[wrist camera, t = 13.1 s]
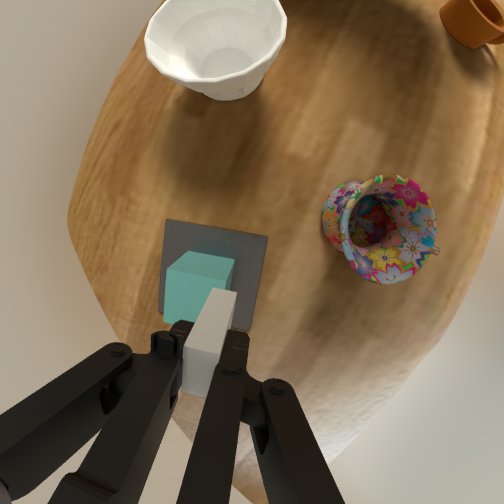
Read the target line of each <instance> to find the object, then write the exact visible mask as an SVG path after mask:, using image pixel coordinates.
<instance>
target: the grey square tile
mask: <svg viewBox="0 0 504 504" xmlns="http://www.w3.org/2000/svg"><path fill="white" fill-rule="evenodd" d="M267 239H268V236H263V235H258V234H252V233H247V232H241V231H235V230H230V229H224V228H219V227H213V226H207V225H201V224H195V223H190V222H184V221H178V220H172V219H166V223H165V232H164V241H163V251H162V262H161V274H160V287H159V304H158V312H162V313H164V301H165V286H166V274H167V268H169V267H170V266H171V265H172V264H173V263H174V262H176V261H177V260H178V259H179V258H180V257H181V256H183V255H184V254H185V253H186V252H187V251H192V252H197V253H202V254H208V255H213V256H219V257H224V258H229V259H235V263H234V269H233V275H232V281H231V288H230V291H233V292H237V296H236V301H235V307H234V312H233V318H232V323H231V327H232V328H237V329H243V330H250V325H251V320H252V315H253V310H254V305H255V300H256V295H257V290H258V285H259V280H260V275H261V270H262V265H263V259H264V254H265V249H266V244H267Z"/></svg>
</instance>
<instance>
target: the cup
mask: <svg viewBox="0 0 504 504" xmlns="http://www.w3.org/2000/svg"><path fill="white" fill-rule="evenodd" d="M286 26H287V17H286V15H285V13H284V10H283V8H282V6H281V4H280V2H279V0H167V1H166V2H165V3H164V4H163V5H162V6H161V7H160V8H159V9H158V11H157V12H156V13H155V14H154V15H153V17H152V18H151V19H150V21H149V25H148V28H147V31H146V34H145V38H144V43H145V48H146V54H147V59H148V60H149V61H150V62H151V63H152V64H153V65H154V66H155V67H156V68H157V69H158V71H159V72H160V73H161V74H163V75H164V76H166V77H168V78H170V79H171V80H173V81H175V82H177V83H178V84H180V85H183V86H185V87H187V88H190V89H192V90H194V91H197V92H202V93H203V94H204V95H206V96H208V97H210V98H213V99H215V100H222V101H231V100H236V99H239V98H243V97H245V96H247V95H248V94H250V93H251V92H252V91H254V90H255V89H256V88H257V86H258V85H259V84H260V82H261V81H262V79H263V75H264V74H265V73H266V72H267V70H268V69H269V67H270V66H271V65H272V63H273V62H274V60H275V59H276V58H277V56H278V54H279V51H280V49H281V47H282V45H283V43H284V41H285V36H286Z"/></svg>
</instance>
